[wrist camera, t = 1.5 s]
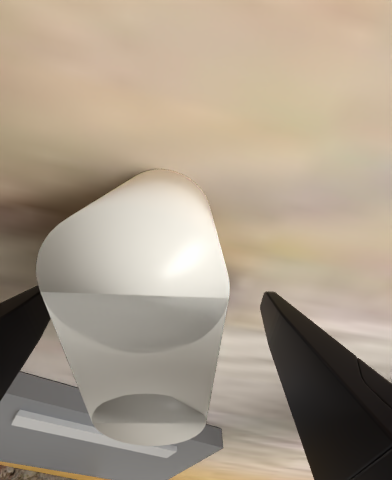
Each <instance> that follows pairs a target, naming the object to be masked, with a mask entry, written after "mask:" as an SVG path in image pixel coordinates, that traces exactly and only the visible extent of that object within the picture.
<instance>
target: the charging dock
mask: <svg viewBox="0 0 392 480" xmlns="http://www.w3.org/2000/svg"><path fill="white" fill-rule="evenodd" d="M222 448H223V440H222V430H221V429H220V428H216V427H213V426H209V425H205V427H204V429H203V430H202V431H201V432H200V433H199V434H198V435H197V436H195V437H193V438H191V439H189V440H186V441H184V442H180V443H176V444H171V445H163V446H142V445H133V444H128V443H123V442H120V441H117V440H114V439H111V438H109V437H107V436H105V435H103V434H102V433H100V432H99V431H98V430H97V429H96V428H95V427H94V425H93V423H92V421H91V418H90V416H89V413H88V411H87V408H86V406H85V403H84V401H83V398H82V396H81V393H80V390H79V388H75V387H72V386H68V385H65V384H61V383H58V382H54V381H51V380H47V379H44V378H40V377H37V376H33V375H30V374H26V373H23V372H19V373H18V375H17V376H16V378H15V379H14V381H13V382H12V384H11V386H10V387H9V389H8V390H7V392H6V393H5V395H4V397H3V398H2V400H1V401H0V461H2V462H9V463H15V464H21V465H27V466H33V467H39V468H45V469H51V470H57V471H63V472H69V473H75V474H81V475H87V476H93V477H99V478H105V479H111V480H168V479H170V478H172V477H173V476H175V475H177V474H179V473H180V472H182V471H184V470H186V469H187V468H189V467H191V466H193V465H194V464H196V463H198V462H200V461H201V460H203V459H205V458H207V457H208V456H210V455H212V454H214V453H215V452H217V451H219V450H221V449H222Z"/></svg>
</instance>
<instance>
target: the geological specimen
mask: <svg viewBox="0 0 392 480" xmlns="http://www.w3.org/2000/svg"><path fill="white" fill-rule="evenodd" d="M0 480H76V479H71V478H65V477H60V476H55V475H50V474H45V473H39V472H34V471H29V470H23V469H18V468H13V467H8V466H2V465H0Z"/></svg>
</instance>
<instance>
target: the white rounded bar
mask: <svg viewBox="0 0 392 480" xmlns="http://www.w3.org/2000/svg"><path fill="white" fill-rule="evenodd" d="M36 276H37V283H38V286H39V289H40V292H41V295H42V297H43V300H44V302H45V305H46V307H47V310H48V312H49V315H50V318H51V320H52V323H53V325H54V328H55V330H56V333H57V335H58V338H59V340H60V343H61V345H62V348H63V350H64V353H65V355H66V358H67V360H68V363H69V365H70V368H71V370H72V373H73V375H74V378H75V380H76V383H77V385H78V388H79V390H80V393H81V396H82V398H83V401H84V403H85V406H86V408H87V411H88V413H89V416H90V418H91V421H92V423H93V425H94V427H95V428H96V429H97V430H98V431H99V432H100V433H102V434H103V435H105V436H107V437H109V438H111V439H114V440H117V441H120V442H123V443H128V444H133V445H142V446H163V445H171V444H176V443H180V442H184V441H186V440H189V439H191V438H193V437H195V436H197V435H198V434H199V433H200V432H201V431H202V430H203V429H204V427H205V425H206V420H207V415H208V409H209V404H210V398H211V393H212V388H213V382H214V377H215V371H216V366H217V361H218V355H219V350H220V344H221V339H222V333H223V328H224V323H225V317H226V312H227V306H228V301H229V293H230V284H229V277H228V272H227V268H226V265H225V261H224V257H223V254H222V250H221V246H220V242H219V239H218V235H217V231H216V227H215V224H214V220H213V216H212V213H211V209H210V205H209V202H208V200H207V198H206V196H205V194H204V192H203V191H202V190H201V188H200V187H199V186H198V185H197V184H196V183H195V182H194V181H192V180H191V179H190V178H188V177H186V176H185V175H183V174H180V173H178V172H175V171H171V170H165V169H155V170H149V171H145V172H142V173H140V174H138V175H136V176H134V177H133V178H131V179H130V180H128V181H126V182H125V183H123V184H122V185H120V186H118V187H117V188H115V189H113V190H112V191H110V192H109V193H107V194H105V195H104V196H102V197H101V198H99V199H97V200H96V201H94V202H92V203H91V204H89V205H88V206H86V207H84V208H83V209H81V210H80V211H78V212H76V213H75V214H73V215H71V216H70V217H68V218H67V219H65V220H64V221H62V222H61V223H59V224H58V225H57V226H56V227H55V228H54V229H53V230H52V231H51V232H50V233H49V234H48V236H47V237H46V239H45V240H44V241H43V243H42V246H41V248H40V250H39V253H38V257H37V261H36Z"/></svg>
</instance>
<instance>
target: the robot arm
mask: <svg viewBox="0 0 392 480" xmlns="http://www.w3.org/2000/svg"><path fill="white" fill-rule="evenodd" d="M260 310H261V315H262V319H263V324H264V328H265V332H266V337H267V341H268V345H269V348H270V351H271V354H272V357H273V360H274V363H275V366H276V369H277V372H278V375H279V378H280V380H281V383H282V386H283V389H284V392H285V395H286V398H287V401H288V404H289V407H290V410H291V413H292V416H293V419H294V422H295V424H296V427H297V430H298V433H299V436H300V439H301V442H302V445H303V448H304V451H305V454H306V457H307V460H308V463H309V465H310V468H311V471H312V474H313V477H314V480H392V383H390V382H389V381H388V380H386V379H385V378H384V377H382V376H381V375H380V374H378V373H377V372H376V371H375V370H373V369H372V368H371V367H369V366H368V365H367V364H366V363H364V362H363V361H362V360H360V359H359V358H357V357H356V356H355V355H354V354H353V353H351V352H350V351H349V350H348V349H346V348H345V347H344V346H343V345H341V344H340V343H339V342H338V341H336V340H335V339H334V338H332V337H331V336H330V335H329V334H327V333H326V332H325V331H324V330H322V329H321V328H320V327H318V326H317V325H316V324H315V323H313V322H312V321H311V320H310V319H308V318H307V317H306V316H305V315H303V314H302V313H301V312H299V311H298V310H297V309H296V308H294V307H293V306H292V305H291V304H289V303H288V302H287V301H286V300H284V299H283V298H282V297H280V296H279V295H278V294H277V293H275V292H265V293H264V295H263V298H262V302H261V305H260ZM50 319H51V318H50V315H49V312H48V310H47V307H46V305H45V302H44V300H43V297H42V295H41V292H40V289H39V286H36V287H33V288H31V289H29V290H27V291H25V292H23V293H21V294H19V295H17V296H15V297H12V298H10V299H8V300H6V301H4V302H2V303H0V401H1V400H2V398H3V397H4V395H5V393H6V392H7V390H8V389H9V387H10V386H11V384H12V382H13V381H14V379H15V378H16V376H17V375H18V373H19V371H20V370H21V368H22V367H23V365H24V364H25V362H26V360H27V359H28V357H29V356H30V354H31V353H32V351H33V349H34V348H35V346H36V345H37V343H38V341H39V340H40V338H41V336H42V334H43V332H44V330H45V328H46V326H47V324H48V323H49V321H50Z"/></svg>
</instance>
